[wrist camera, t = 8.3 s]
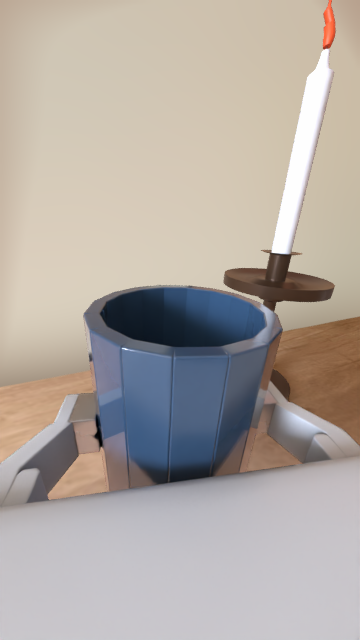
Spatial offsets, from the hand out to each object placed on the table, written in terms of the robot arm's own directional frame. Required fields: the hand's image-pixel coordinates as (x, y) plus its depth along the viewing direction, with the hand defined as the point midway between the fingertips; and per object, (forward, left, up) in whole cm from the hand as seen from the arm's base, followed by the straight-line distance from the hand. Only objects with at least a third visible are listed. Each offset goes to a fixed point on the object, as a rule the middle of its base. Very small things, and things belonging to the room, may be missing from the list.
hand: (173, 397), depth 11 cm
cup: (0, +1, -6) cm, 6 cm away
